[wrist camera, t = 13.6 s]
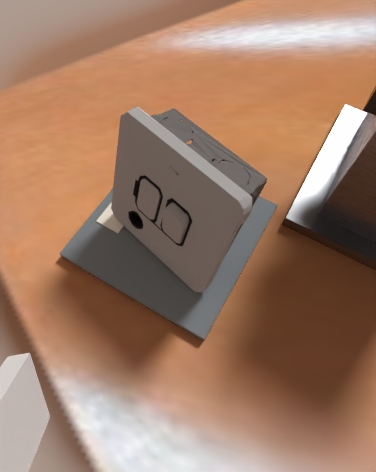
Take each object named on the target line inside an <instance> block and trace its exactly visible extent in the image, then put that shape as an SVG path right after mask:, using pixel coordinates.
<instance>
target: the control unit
mask: <svg viewBox="0 0 376 472" xmlns="http://www.w3.org/2000/svg"><path fill="white" fill-rule="evenodd" d="M364 111H365V112H364ZM366 112H368V113H366ZM283 225H285V226H287V227H289V228H292V229H294V230H296V231H298V232H300V233H302V234H304V235H306V236H308V237H310V238H312V239H314V240H316V241H318V242H320V243H322V244H324V245H326V246H328V247H330V248H332V249H334V250H336V251H338V252H340V253H343V254H345V255H347V256H349V257H351V258H353V259H355V260H357V261H359V262H361V263H363V264H365V265H367V266H369V267H371V268H373V269H375V270H376V86H375V88H374V90H373V91H372V93H371V95H370V97H369V99H368V101H367V103H366V105H365V107H364V109H363V111H361V110H359V109H356V108H354V107H351V106H349V105H346V104H345V105H344V107H343V109H342V111H341V113H340V115H339V117H338V118H337V120H336V122H335V124H334V126H333V128H332V130H331V132H330V134H329V136H328V138H327V139H326V141H325V143H324V145H323V147H322V149H321V151H320V153H319V155H318V157H317V159H316V161H315V162H314V164H313V166H312V168H311V170H310V172H309V174H308V176H307V178H306V180H305V182H304V183H303V185H302V187H301V189H300V191H299V193H298V195H297V197H296V199H295V201H294V203H293V205H292V206H291V208H290V210H289V212H288V214H287V216H286V218H285V220H284V222H283Z"/></svg>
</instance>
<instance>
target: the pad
mask: <svg viewBox="0 0 376 472" xmlns="http://www.w3.org/2000/svg"><path fill="white" fill-rule="evenodd" d="M112 195H113V189H112V190H111V191H110V192H109V194H108V195H107V196H106V197H105V199H104V200H103V201H102V202H101V203H100V205H99V206H98V207H97V208H96V210H95V211H94V212H93V213H92V215H91V216H90V217H89V218H88V219H87V221H86V222H85V223H84V224H83V226H82V227H81V228H80V229H79V230H78V232H77V233H76V234H75V235H74V237H73V238H72V239H71V240H70V241H69V243H68V244H67V245H66V246H65V248H64V249H63V250H62V251H61V252H60V255H61V256H62V257H63V258H65V259H66V260H68V261H70V262H71V263H73V264H75V265H76V266H78V267H80V268H81V269H83V270H85V271H86V272H88V273H90V274H92V275H93V276H95V277H97V278H98V279H100V280H102V281H103V282H105V283H107V284H108V285H110V286H112V287H114V288H115V289H117V290H119V291H120V292H122V293H124V294H125V295H127V296H129V297H130V298H132V299H134V300H136V301H137V302H139V303H141V304H142V305H144V306H146V307H147V308H149V309H151V310H152V311H154V312H156V313H158V314H159V315H161V316H163V317H164V318H166V319H168V320H169V321H171V322H173V323H174V324H176V325H178V326H180V327H181V328H183V329H185V330H186V331H188V332H190V333H191V334H193V335H195V336H196V337H198V338H200V339H202V340H203V341H204V340H205V338H206V336H207V334H208V333H209V331H210V329H211V327H212V325H213V323H214V322H215V320H216V318H217V316H218V314H219V312H220V311H221V309H222V307H223V305H224V303H225V301H226V300H227V298H228V296H229V294H230V292H231V290H232V289H233V287H234V285H235V283H236V281H237V279H238V277H239V276H240V274H241V272H242V270H243V268H244V266H245V265H246V263H247V261H248V259H249V257H250V255H251V254H252V252H253V250H254V248H255V246H256V244H257V243H258V241H259V239H260V237H261V235H262V233H263V232H264V230H265V228H266V226H267V224H268V222H269V221H270V219H271V217H272V215H273V213H274V211H275V210H276V208H277V205H276V204H274V203H272V202H270V201H268V200H266V199H264V198H262V197H260V196H258V198H257V200H256V202H255V203H254V205H253V207H252V210H251V213H250V215H249V217H248V219H247V220H246V222H245V223H244V224H243V225H242V227H241V229H240V230H239V232H238V234H237V236H236V238H235V239H234V241H233V243H232V245H231V247H230V248H229V250H228V252H227V254H226V255H225V257H224V259H223V261H222V263H221V265H220V267H219V269H218V271H217V272H216V274H215V276H214V279H213V281H212V283H211V284H210V286H209V287H207V288H206V289H205V290H204V291H202V292H201V293H200V292H194V291H193V290H192V289H191V288H190V287H189V286H188V285H187V284H185V283H184V282H183V281H182V280H181V279H180V278H179V277H178V276H177V275H176V274H175V273H174V272H173V271H172V270H171V269H169V268H168V267H167V266H166V265H165V264H164V263H163V262H162V261H161V260H160V259H159V258H158V257H157V256H156V255H155V254H153V253H152V252H151V251H150V250H149V249H148V248H147V247H146V246H145V245H144V244H143V243H142V242H141V241H140V240H139V239H137V238H136V237H135V236H134V235H133V234H132V233H131V232H130V231H129V230H128V229H127V228H126V227H125V226H124V225H123V224H121V223H120V222H119V221H118V220H117V219H116V218H115V216H114V214H113V212H112V209H111V204H112Z"/></svg>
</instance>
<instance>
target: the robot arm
mask: <svg viewBox="0 0 376 472" xmlns="http://www.w3.org/2000/svg"><path fill="white" fill-rule="evenodd" d="M49 418H50V415H49V411H48V409H47V405H46V402H45V399H44V396H43V393H42V390H41V387H40V383H39V380H38V377H37V374H36V371H35V368H34V365H33V361H32V358H31V355H30V353H25V354H20V355H14V356H8V357H7V358H6V360H5V361H4V363H3V364H2V366H1V367H0V472H28V471H29V469H30V467H31V464H32V461H33V459H34V456H35V454H36V451H37V449H38V446H39V444H40V441H41V439H42V436H43V434H44V431H45V428H46V426H47V424H48V421H49Z"/></svg>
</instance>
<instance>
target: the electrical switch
mask: <svg viewBox="0 0 376 472" xmlns="http://www.w3.org/2000/svg"><path fill="white" fill-rule="evenodd" d="M180 120H182V121H180ZM190 140H192V144H185V143H187V142H188V141H190ZM221 161H222V162H221ZM249 179H250V181H249ZM266 180H267V178H266V177H265V176H263V175H262V174H261V173H259V172H258V171H257V170H255V169H254V168H253V167H251V166H250V165H249V164H247V163H246V162H245V161H243V160H242V159H241V158H239V157H238V156H237V155H235V154H234V153H233V152H231V151H230V150H229V149H227V148H226V147H225V146H223V145H222V144H221V143H219V142H218V141H217V140H215V139H214V138H213V137H211V136H210V135H209V134H208V133H206V132H205V131H204V130H202V129H201V128H200V127H198V126H197V125H196V124H194V123H193V122H192V121H190V120H189V119H188V118H186V117H185V116H184V115H182V114H181V113H180V112H178V111H177V110H176V109H174V108H173V109H171V110H169V111H166V112H164V113H162V114H158V115H152V116H149V115H148V114H147V113H145V112H144V111H143V110H142V109H140V108H139V107H135V108H132V109H131V110H129V111H128V112H126V113H124V114H123V115H121V118H120V128H119V137H118V147H117V156H116V166H115V176H114V185H113V195H112V204H111V209H112V212H113V214H114V216H115V218H116V219H117V220H118V221H119V222H120V223H121V224H123V225H124V226H125V227H126V228H127V229H128V230H129V231H130V232H131V233H132V234H133V235H134V236H135V237H136V238H137V239H139V240H140V241H141V242H142V243H143V244H144V245H145V246H146V247H147V248H148V249H149V250H150V251H151V252H152V253H153V254H155V255H156V256H157V257H158V258H159V259H160V260H161V261H162V262H163V263H164V264H165V265H166V266H167V267H168V268H169V269H171V270H172V271H173V272H174V273H175V274H176V275H177V276H178V277H179V278H180V279H181V280H182V281H183V282H184V283H185V284H187V285H188V286H189V287H190V288H191V289H192V290H193V291H194V292H200V293H201V292H202V291H204V290H205V289H206V288H207V287H209V286H210V284H211V283H212V281H213V279H214V276H215V274H216V272H217V271H218V269H219V267H220V265H221V263H222V261H223V259H224V257H225V255H226V254H227V252H228V250H229V248H230V247H231V245H232V243H233V241H234V239H235V238H236V236H237V234H238V232H239V230H240V229H241V227H242V225H243V224H244V223H245V222H246V220H247V219H248V217H249V215H250V213H251V210H252V207H253V205H254V203H255V202H256V200H257V198H258V196H259V194H260V193H261V191H262V189H263V187H264V185H265V184H266V182H267V181H266ZM264 181H266V182H264ZM263 182H264V183H263ZM262 183H263V184H262ZM259 185H260V186H259Z"/></svg>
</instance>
